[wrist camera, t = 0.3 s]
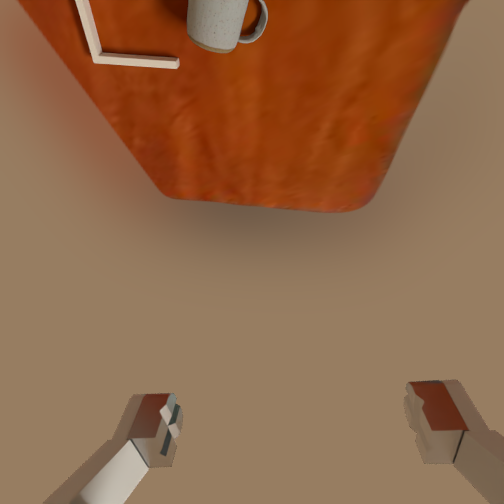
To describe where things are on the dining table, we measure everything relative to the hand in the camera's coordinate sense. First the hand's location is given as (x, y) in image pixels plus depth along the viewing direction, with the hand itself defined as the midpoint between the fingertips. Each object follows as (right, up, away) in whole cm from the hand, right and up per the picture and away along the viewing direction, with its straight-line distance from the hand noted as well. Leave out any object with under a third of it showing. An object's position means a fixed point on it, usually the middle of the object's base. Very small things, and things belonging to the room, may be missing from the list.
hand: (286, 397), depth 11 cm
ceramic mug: (-4, +40, +32) cm, 52 cm away
